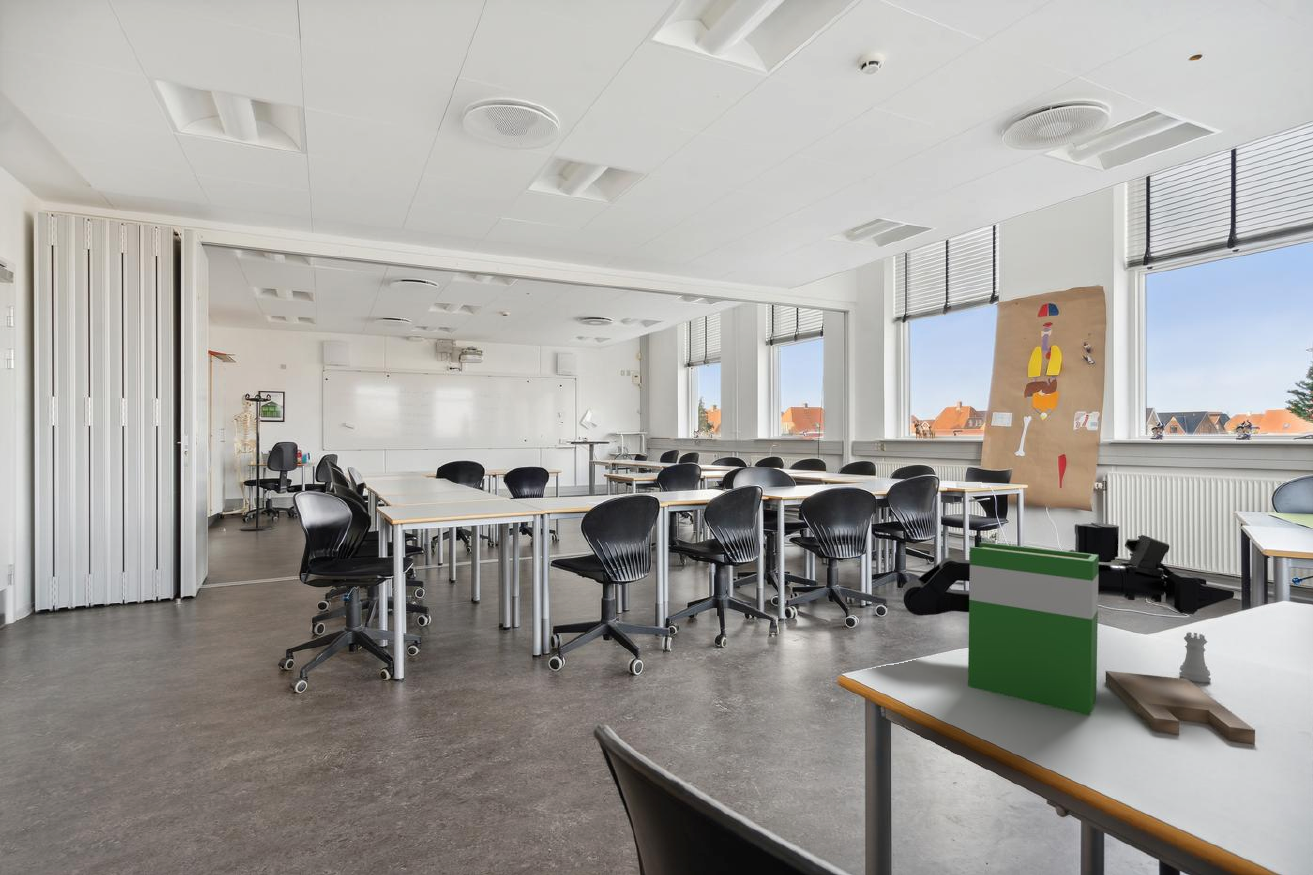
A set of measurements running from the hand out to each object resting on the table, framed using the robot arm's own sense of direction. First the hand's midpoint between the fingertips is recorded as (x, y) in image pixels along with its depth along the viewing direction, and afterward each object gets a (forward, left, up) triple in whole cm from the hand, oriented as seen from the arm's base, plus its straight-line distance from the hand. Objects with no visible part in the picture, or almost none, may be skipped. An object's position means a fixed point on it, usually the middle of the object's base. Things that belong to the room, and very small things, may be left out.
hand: (1219, 588), depth 116 cm
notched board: (-13, -17, -17) cm, 27 cm away
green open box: (-33, -17, -17) cm, 41 cm away
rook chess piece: (-3, 0, -17) cm, 17 cm away
